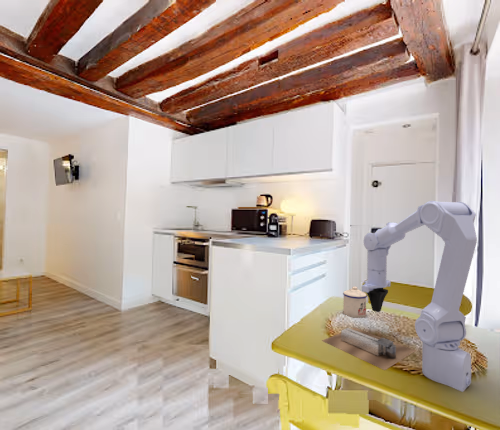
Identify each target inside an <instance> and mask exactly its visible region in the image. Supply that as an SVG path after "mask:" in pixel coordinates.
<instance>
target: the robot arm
mask: <svg viewBox="0 0 500 430" xmlns="http://www.w3.org/2000/svg"><path fill="white" fill-rule="evenodd" d="M416 209H417V210H415V211H414V212H412V213H410V214H409V215H408V216H406V217H405V218H403V219H402V220H401V221H399V222H398V223H397V222H392V221H391V222H387V223H386V225H385V226H384V227H382V228H379V229H377V230H376V231H375V232H367V233H366V234H365V235H364V238H363V245H364V248H365V249H366V250H367V259H366V260H367V265H366V266H367V270H366V271H367V273H366V275H367V276H366V277H367V278H366V280H364V281H363V283H364V284H362V285H361V292H364V293H366V295H367V297H368V299H369V302H370V306H371V309H372V310H371V311H373V312H375V313H376V312H377V313H380V312H381V311H382V308H383V307H382V306H383V304H384V301H385V298H386V296H387V295H388V293H389V290H388V289H386V288H387V287H390V288H391V283H392V282H391V280H388V279H387V267H388V266H387V257H388V255H389V250H390V248H391V247H392V245H394V244H396V243H398V242H400V241H403V240H404V239H405V238H406V234H407V233H409V232H412V231H414V230H416V229H418V228H420V227H424V226H426V227H427V228H428V229H430V230H431V231H432V232H433V233H434V234H436V235H437V236H438V237H440V239H442V241H443V242H444V245H443V247H444V248H443V251H442V254H441V259H440V263H439V268H438V271H437V272H438V273H437V277H436V280H435V285H434V289H433V293H432V298H431V302H430V303H428V304H427V305H426V306H425V307H424V308H423V309H421V311H420V315H419V317H418V318H416V319H415V322H414V329H415V332H416V334H417V337H418V338H419V340H420V342H422V347H421V348H422V349H421V350H422V353H421V355H422V356H421V357H422V359H421V361H422V362H421V363H422V364H421V370H422V371H421V372H422V374H423V375H424V376H425V377H426V378H427V379H429V380H432V381H434V382H436V383H439V384H442V385H445V386H448V387H450V388H452V389H455V390H457V391H458V392H459V391H460V392H461V393H463V392H464V391H465V390H466V389H467V388H468V387H469V386H470V385H471V383H472V357H471V354H470V353H469V351H468V352H467V351H465V350H463V349H461V348H460V347H459V346H461V342H462V341H463V340H464V339H465V338H466V335H467V328H466V316H465V314H464V313H463V312H462V311H460V307H461V303H462V299H463V296H464V292H465V289H466V288H465V287H466V283H467V280H468V277H469V272H470V270H471V265H472V260H473V259H474V254H475V251H476V245H477V244H478V242H477V241H478V239H477V232H476V228H475V220H476V216H477V213H476V212H475V211H474V210H473V209H472V208H471V206H470V205H469V204H467V203H466V202H464V201H455V202H454V201H436V200H428V201H427V202H424V203H423V204H421V205H419V206H418V207H417V208H416Z"/></svg>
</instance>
